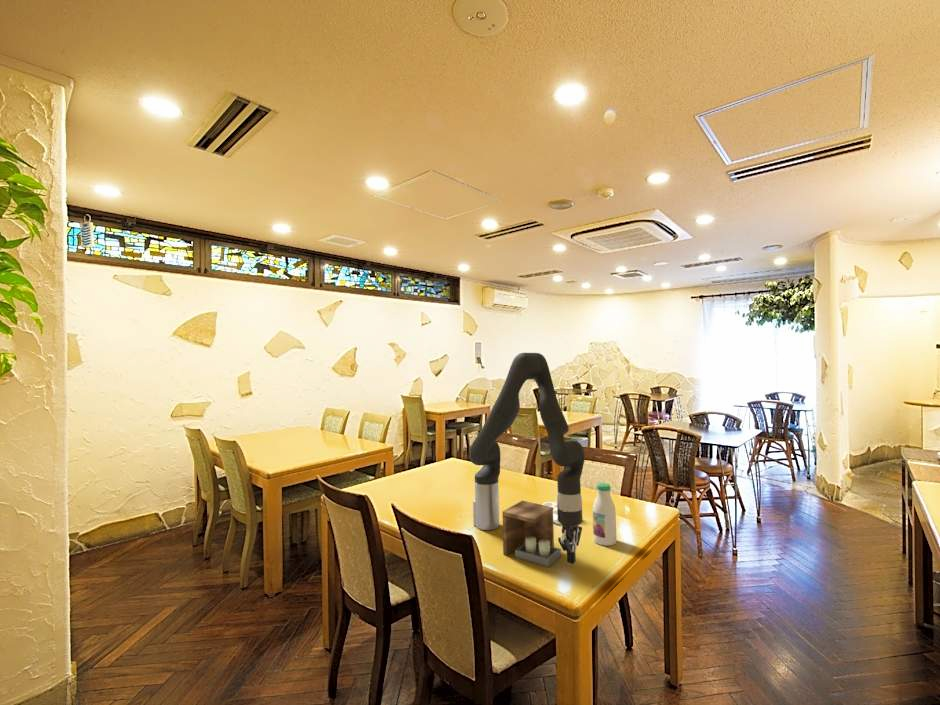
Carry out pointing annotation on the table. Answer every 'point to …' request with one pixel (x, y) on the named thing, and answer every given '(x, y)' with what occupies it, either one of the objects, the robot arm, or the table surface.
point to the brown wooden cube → (526, 524)
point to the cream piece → (544, 548)
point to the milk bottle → (604, 517)
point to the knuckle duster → (555, 512)
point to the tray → (536, 559)
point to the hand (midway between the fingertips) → (571, 562)
